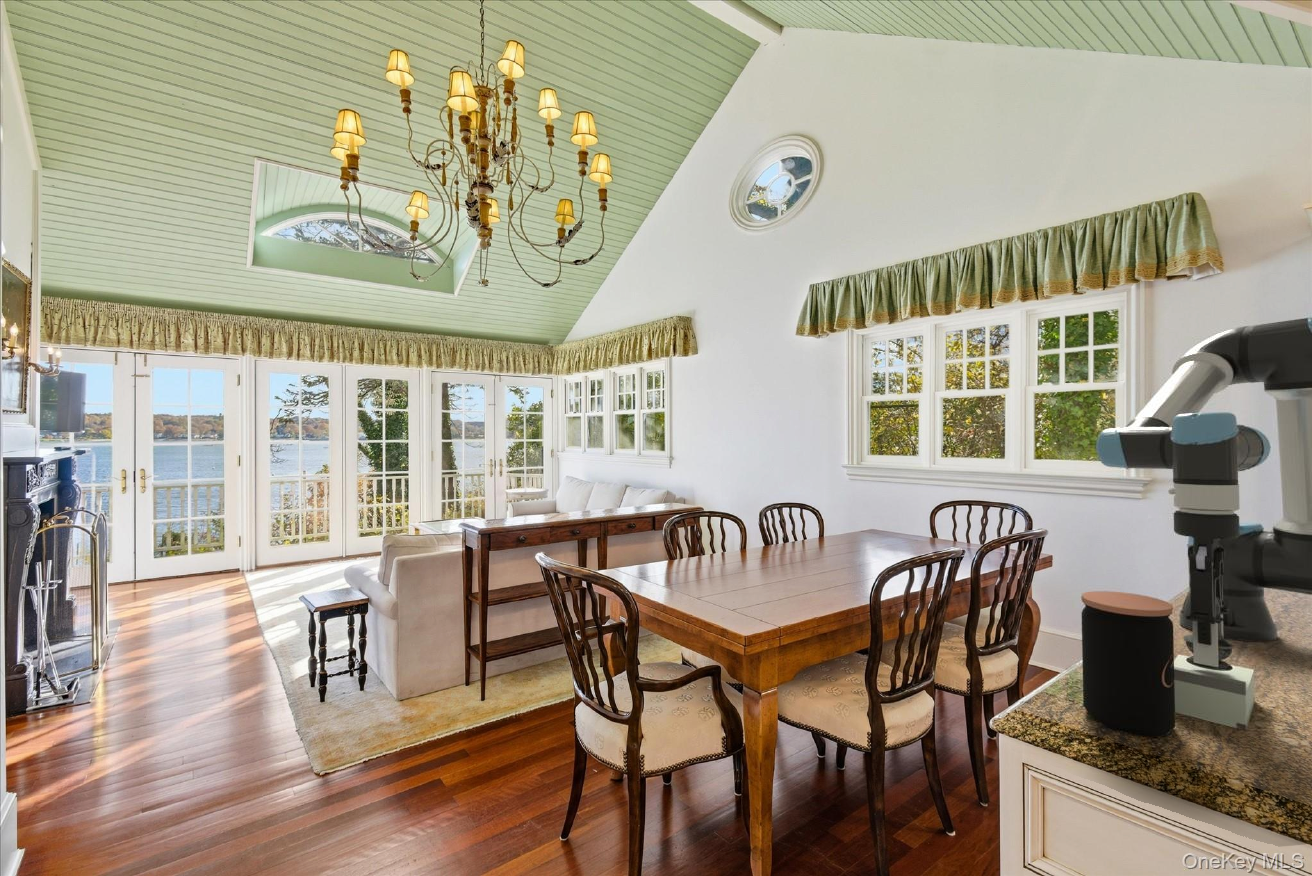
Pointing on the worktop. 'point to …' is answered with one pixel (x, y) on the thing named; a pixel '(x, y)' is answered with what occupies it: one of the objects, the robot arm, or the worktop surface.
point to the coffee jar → (1128, 662)
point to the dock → (1214, 693)
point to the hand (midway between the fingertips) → (1208, 658)
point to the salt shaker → (1223, 646)
